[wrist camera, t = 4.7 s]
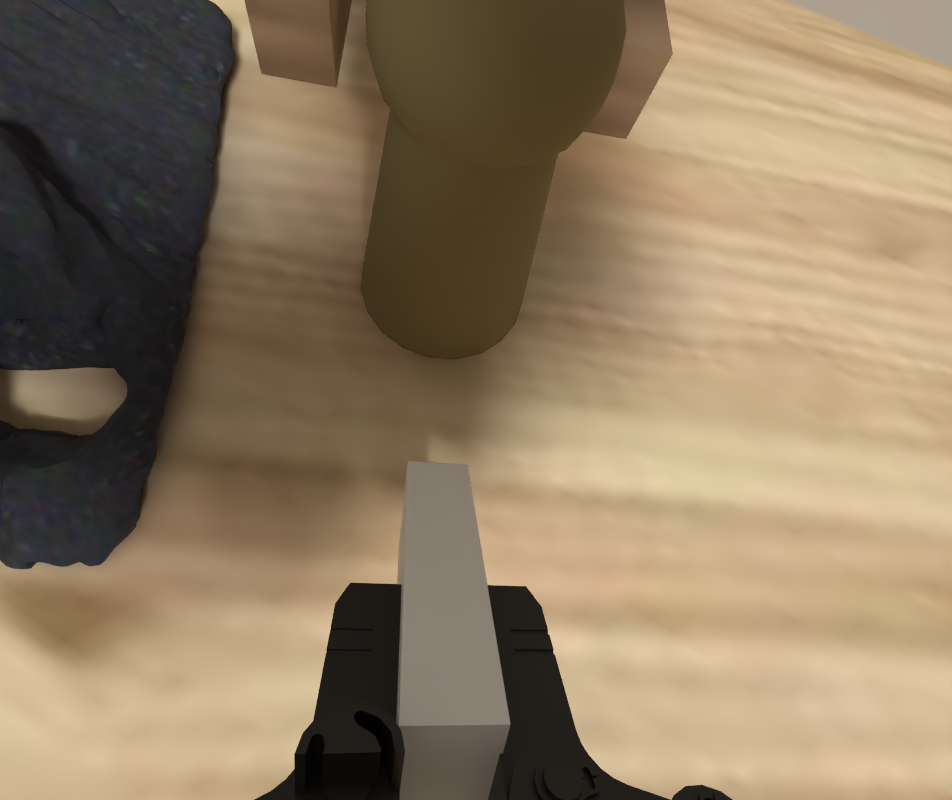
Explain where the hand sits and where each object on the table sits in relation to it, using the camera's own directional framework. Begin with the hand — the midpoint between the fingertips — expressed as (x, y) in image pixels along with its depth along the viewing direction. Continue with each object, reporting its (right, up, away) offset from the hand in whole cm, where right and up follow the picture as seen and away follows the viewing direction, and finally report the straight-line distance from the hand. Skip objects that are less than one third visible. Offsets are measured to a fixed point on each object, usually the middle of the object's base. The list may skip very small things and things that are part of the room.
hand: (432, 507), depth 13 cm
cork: (0, +7, +6) cm, 9 cm away
